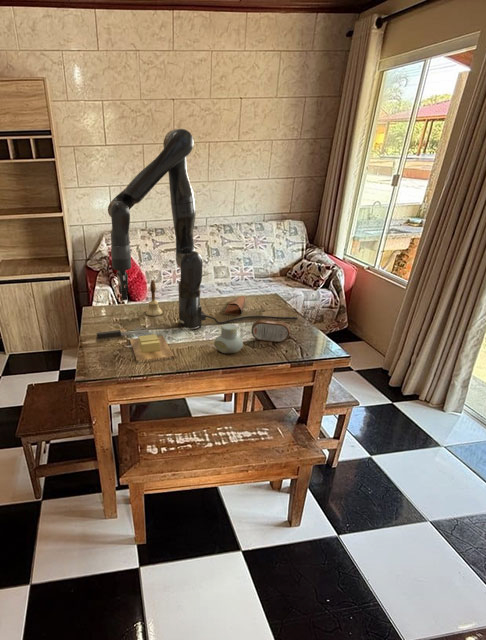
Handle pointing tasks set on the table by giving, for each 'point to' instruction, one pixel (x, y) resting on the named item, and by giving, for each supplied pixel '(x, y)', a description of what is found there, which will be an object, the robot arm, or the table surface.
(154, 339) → the butter
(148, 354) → the board
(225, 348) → the air freshener
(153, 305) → the hand bell
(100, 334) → the knife
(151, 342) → the butter slice
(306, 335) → the table surface
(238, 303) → the sunglasses case
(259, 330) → the tin
